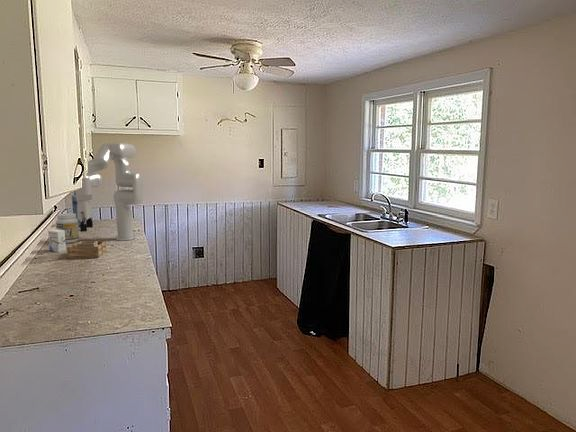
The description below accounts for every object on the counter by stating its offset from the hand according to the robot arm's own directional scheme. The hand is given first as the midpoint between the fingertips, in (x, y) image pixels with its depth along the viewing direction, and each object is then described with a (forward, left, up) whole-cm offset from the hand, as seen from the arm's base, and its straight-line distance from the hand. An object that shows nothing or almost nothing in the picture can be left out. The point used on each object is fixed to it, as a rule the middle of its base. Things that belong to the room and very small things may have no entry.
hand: (86, 229), depth 240 cm
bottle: (-90, -33, -14) cm, 97 cm away
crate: (+1, 0, -14) cm, 14 cm away
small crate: (+1, 0, -13) cm, 13 cm away
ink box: (-11, -20, -14) cm, 27 cm away
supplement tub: (-36, -23, -14) cm, 45 cm away
